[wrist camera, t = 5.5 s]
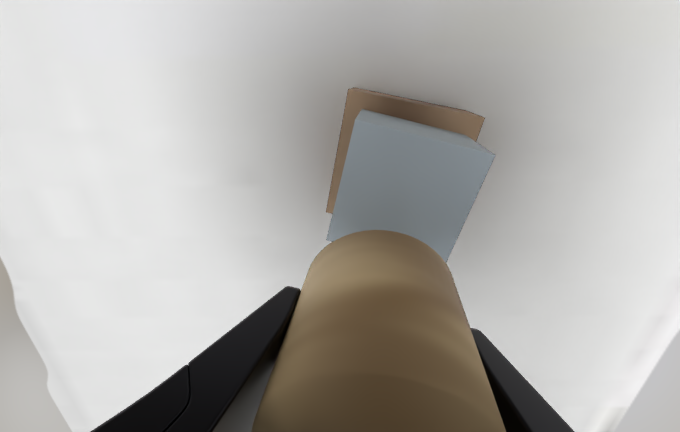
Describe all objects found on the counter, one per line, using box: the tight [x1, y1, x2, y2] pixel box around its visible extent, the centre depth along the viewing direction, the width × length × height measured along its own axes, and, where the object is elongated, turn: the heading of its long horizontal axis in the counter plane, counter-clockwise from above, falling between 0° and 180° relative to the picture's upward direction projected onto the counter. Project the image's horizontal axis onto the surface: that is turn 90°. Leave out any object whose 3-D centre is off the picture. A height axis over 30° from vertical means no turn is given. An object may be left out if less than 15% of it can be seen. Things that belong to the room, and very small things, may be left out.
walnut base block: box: [326, 88, 485, 214], centre depth 18 cm, size 7×7×4 cm
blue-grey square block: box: [327, 109, 495, 263], centre depth 15 cm, size 6×6×4 cm
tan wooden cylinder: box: [252, 230, 506, 432], centre depth 7 cm, size 5×5×4 cm
